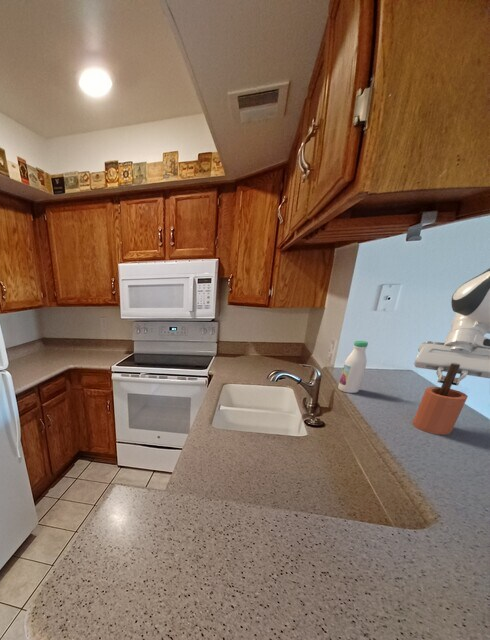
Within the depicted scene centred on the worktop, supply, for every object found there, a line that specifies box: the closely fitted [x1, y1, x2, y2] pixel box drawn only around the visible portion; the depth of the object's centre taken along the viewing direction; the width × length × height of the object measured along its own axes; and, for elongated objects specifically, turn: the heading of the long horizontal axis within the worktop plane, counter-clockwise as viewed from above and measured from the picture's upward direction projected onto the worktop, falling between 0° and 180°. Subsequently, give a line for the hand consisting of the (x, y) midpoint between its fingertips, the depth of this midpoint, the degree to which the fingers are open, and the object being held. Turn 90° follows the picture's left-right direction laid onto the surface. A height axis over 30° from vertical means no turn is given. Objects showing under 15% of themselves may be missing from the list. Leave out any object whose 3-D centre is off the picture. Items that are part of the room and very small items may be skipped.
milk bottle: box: [337, 340, 369, 394], centre depth 132 cm, size 8×8×20 cm
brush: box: [439, 363, 460, 397], centre depth 102 cm, size 4×4×15 cm
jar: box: [412, 386, 468, 436], centre depth 104 cm, size 10×10×12 cm
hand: (447, 383), depth 101 cm, fingers closed on brush, 2 cm apart
